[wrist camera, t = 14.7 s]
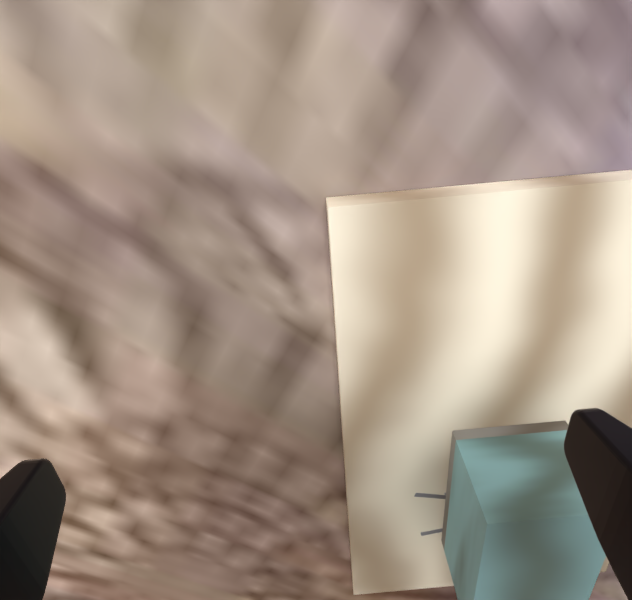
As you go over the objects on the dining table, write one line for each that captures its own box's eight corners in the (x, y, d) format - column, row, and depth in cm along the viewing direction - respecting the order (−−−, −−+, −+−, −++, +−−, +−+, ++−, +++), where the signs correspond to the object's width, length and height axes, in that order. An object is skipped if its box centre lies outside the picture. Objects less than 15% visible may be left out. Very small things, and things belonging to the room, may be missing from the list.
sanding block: (565, 420, 24) (624, 511, 20) (535, 531, 29) (578, 624, 25) (452, 430, 24) (487, 524, 20) (441, 540, 29) (467, 634, 25)
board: (750, 159, 19) (772, 167, 18) (597, 556, 33) (605, 572, 32) (325, 197, 19) (327, 207, 18) (352, 579, 33) (353, 595, 32)
